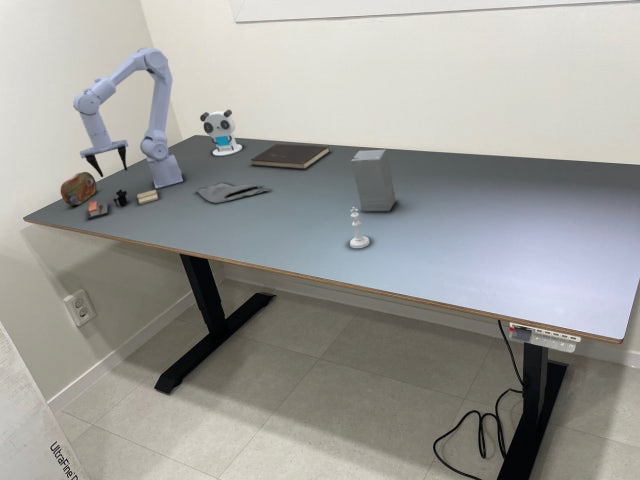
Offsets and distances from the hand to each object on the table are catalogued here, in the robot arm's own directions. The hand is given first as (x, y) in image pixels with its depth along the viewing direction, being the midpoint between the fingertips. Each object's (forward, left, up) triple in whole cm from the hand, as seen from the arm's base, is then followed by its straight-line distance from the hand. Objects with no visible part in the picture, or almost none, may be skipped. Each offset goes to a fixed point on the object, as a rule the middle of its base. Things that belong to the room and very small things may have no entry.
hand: (114, 172), depth 186 cm
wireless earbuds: (0, +6, -10) cm, 11 cm away
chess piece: (-54, +79, -10) cm, 97 cm away
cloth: (-31, +22, -10) cm, 40 cm away
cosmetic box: (-66, +63, -10) cm, 92 cm away
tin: (+14, -11, -10) cm, 20 cm away
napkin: (-7, +6, -9) cm, 13 cm away
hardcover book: (-57, +6, -10) cm, 59 cm away
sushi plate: (+9, +6, -9) cm, 14 cm away
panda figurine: (-39, -23, -10) cm, 47 cm away
